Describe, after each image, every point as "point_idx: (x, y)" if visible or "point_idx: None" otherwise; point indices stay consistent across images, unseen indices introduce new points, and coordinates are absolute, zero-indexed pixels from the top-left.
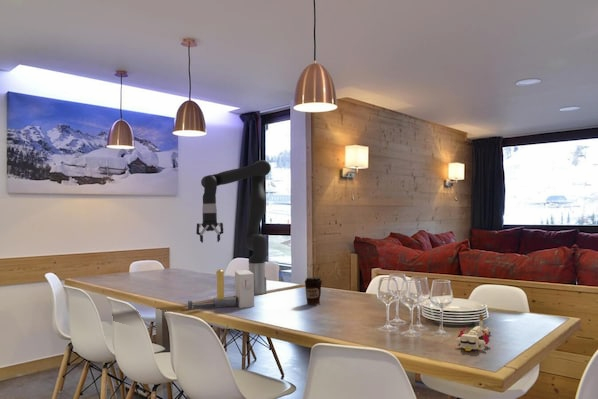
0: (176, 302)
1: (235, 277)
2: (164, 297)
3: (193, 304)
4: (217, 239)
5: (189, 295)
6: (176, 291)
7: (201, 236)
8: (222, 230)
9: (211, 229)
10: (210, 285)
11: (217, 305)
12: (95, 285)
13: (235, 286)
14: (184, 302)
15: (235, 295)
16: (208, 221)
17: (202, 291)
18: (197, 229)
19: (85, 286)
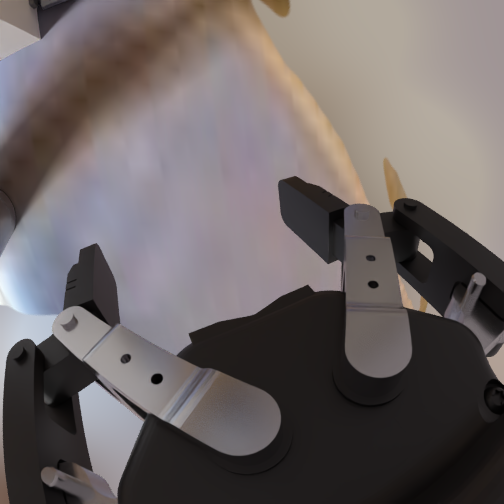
0: (264, 66)
1: (7, 9)
2: (307, 163)
3: None
4: (105, 276)
5: (233, 187)
6: (279, 256)
7: (338, 211)
8: (14, 385)
9: (232, 341)
10: (191, 342)
11: None
12: (410, 308)
13: (21, 23)
14: (236, 59)
15: (33, 33)
16: (424, 472)
17: (197, 256)
18: (459, 234)
19: (421, 299)
